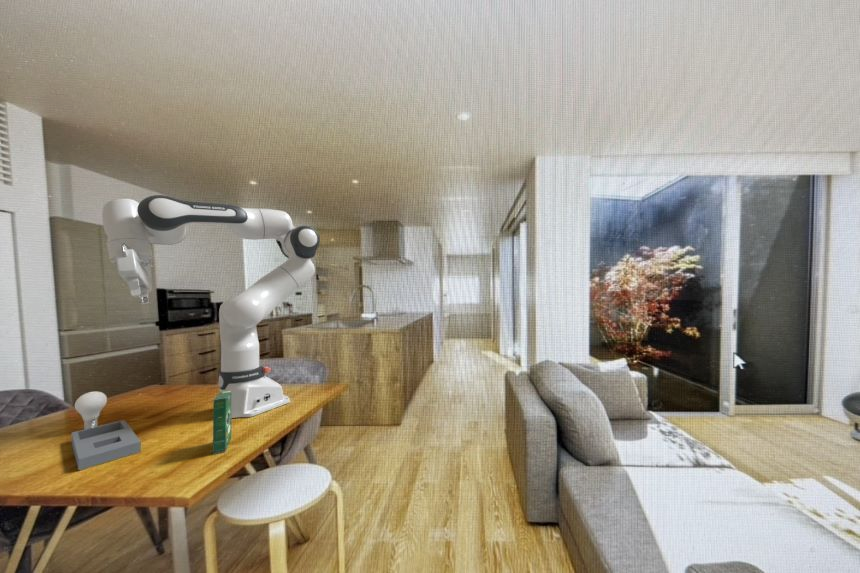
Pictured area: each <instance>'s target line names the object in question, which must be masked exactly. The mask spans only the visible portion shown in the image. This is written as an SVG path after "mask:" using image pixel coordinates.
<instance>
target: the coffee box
mask: <svg viewBox="0 0 860 573" xmlns="http://www.w3.org/2000/svg"><path fill="white" fill-rule="evenodd" d="M212 401H213V402H212V403H213V404H212V406H213V407H212V409H213V411H212V412H213V414H212V416H213V417H212V455H216V454H222V453H224V452H226V451H227V449H228V446H229V445H230V442H231V439H232V418H231V391H223V392H220V391H219V393H218V394H217V395H216V396H215V397H214V398H213V400H212Z"/></svg>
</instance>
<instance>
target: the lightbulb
mask: <svg viewBox="0 0 860 573" xmlns="http://www.w3.org/2000/svg"><path fill="white" fill-rule="evenodd" d="M107 403H108V397H107V394H105V393H104V392H102V391H89V392H85V393H83V394H81V395H80V396H79V397H78V398H77V399H76V401H75V403H74V408H75V411H76V412H77V413H79V415H80V416H81V417H82V420H83V430H84V429H88V428H92V427H97V426H98V419H99V416H100V414H101V411H102V410H103V409H104V407H105V406H106V405H107Z"/></svg>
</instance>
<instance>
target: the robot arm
mask: <svg viewBox="0 0 860 573" xmlns="http://www.w3.org/2000/svg"><path fill="white" fill-rule="evenodd" d="M101 217H102V225H103V230H104V233H105V234H106V236H107V240H106V246H107V252H108V258H109V260H110V262H111V263H113V264H116V267H117V272H118V275H119V277H121V278H122V279H123V280H124V281H125V282H126V284H127V285H128V289H129V291H130V295H131V296H132V297H134V298H137V297H138V301H139V303H140V304H141V305H147V304H149V302H150V301H149V293H150V292H152V291H153V276H152V268H153V267H154V266H153V259H154V256H153V255H154V254H153V250H152V245H162V246H163V245H165V246H166V245H168V246H169V245H176V244H179V243H181V242H182V241H184V240H185V238H186V236H187V225H189V224H208V225H222V226H225V227H227V228H228V229H230V230H231V231H232V232H233V233H234V234H235V235H236V236H238V237H239V238H241V239H243V240H254V241H257V240H272V239H273V240H276V241H275V242H276V243H277V245H278V247H279V249H280V251H281V253H282V255H284V257H286V258H287V260H286V261H284V262H283V263H281V264H280V265H278V266H277V267H275V268H274V269H273V270H271V271H269V272H268V273H267V274H265V275H264V276H262V277H261V278H260V279H258V280H257V281H256V282H254V283H252V285H250V286H248V288H246V289H244V291H242V292H240V293H239V294H238V295H236V296H232V297H231V296H230V297H229V298H227V299H225V300H223V302H222V303H221V305H220V307H219V311H218V318H219V319H218V320H219V324H218V325H219V335H220V347H221V348H220V355H221V357H220V371H219V373H218V374H219V375H218V376H219V377H218V387H219V393H220V392H223V391H231V419H235V418H250V417H251V418H252V417H255V416H257V415H260V414H263V413H266V412H269V411H270V410H273V409H276V408H279V407H281V406H284V405H287V404H289V403H291V398H290V397H289V396H288V395H285V394H284V391H283V387H282V385H281V384H280V383H278V382H276V381H275V380H274V379H272V378H270V377H268V376H266V375H265V374H270V372H271V369H272V368H270V367H269V366H264V367H263V366H261V365H260V342H259V336H258V329H257V328H258V327H257V325H258V324H259V323H260V322H262V321H263V320H264V319H265V318H266V317H267V316H268V315H269V314H271V313H272V312H273V311H274V310H275V309H276V308H277V307H278V306H279V305H280V304H281V303H282V302H284V301H285V300H286V299H288V298H289V297H290V296H292V295H293V294H294V293H296V292H297V291H299V290H300V289H301V288H302V287H303V286H305V284H306V283H307V282H309V281H310V279H311V278H312V277H313V276H314V275H315V273H316V267H315V264H314V262H312V260H311V259H312V258H313V259H314V257H315V256H316V253H317V250H318V248H319V246H320V243H321V237H320V234H319V232H318V231H317V230H316V229H315V228H314V227H311V226H308V225H299V226H297V227H295V226H294V224H293V219H292V218H291V216H290V214H289V213H287V212H286V211H284V210H277V209H271V208H251V207H250V208H247V207H239V206H237V205H230V204H222V203H212V202H211V203H210V202H199V201H189V200H182V199H179V198H176V197H172V196H169V195H162V194H156V195H150V196H147V197H145V198H143V199H142V200H141V201H140V202H138V201H136V200H134V199H131V198H116V199H113V200H109V201H107V202H105V204H104V205H103V206H102V214H101Z"/></svg>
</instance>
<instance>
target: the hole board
mask: <svg viewBox="0 0 860 573" xmlns="http://www.w3.org/2000/svg"><path fill="white" fill-rule="evenodd" d="M70 435H71V438H70V439H71V446H72V451H73V454H74V459H75V462H76V466H77V470H80V471H83V470H86V469H85V468H87V469H90V468H92V467H91V466H93V467H96V466H99V465H98V464H100V465H103V464H105V462H106V463H109V462H108V461H110V462H113V461H115V459H116V460H119V459H123V458H125V457H128V456H129V457H130V456H133V455H135V453H136V454H138V453H141V452H142V441H141V440H140V438H139V437H138V436H137V435H136V433H135V432H134V431H133V430H132V428H131V427H130V425H129V424H128V423H127V422H126V420H124V419H122V420H119V421H114V422H113V421H112V422H109V423H106V424H101V425H97V426H96V427H92V428H88V429H84V428H83V429H80V430H76V431H72V432H71V434H70ZM112 460H113V461H112ZM102 463H103V464H102ZM95 465H96V466H95ZM89 467H90V468H89ZM82 469H83V470H82Z"/></svg>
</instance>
